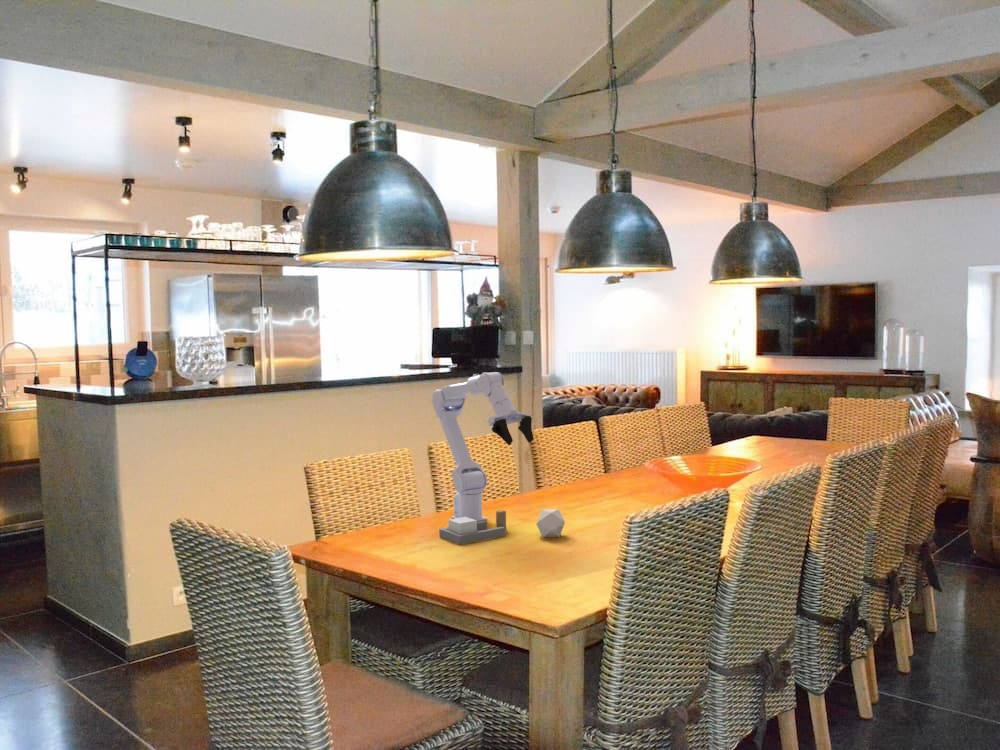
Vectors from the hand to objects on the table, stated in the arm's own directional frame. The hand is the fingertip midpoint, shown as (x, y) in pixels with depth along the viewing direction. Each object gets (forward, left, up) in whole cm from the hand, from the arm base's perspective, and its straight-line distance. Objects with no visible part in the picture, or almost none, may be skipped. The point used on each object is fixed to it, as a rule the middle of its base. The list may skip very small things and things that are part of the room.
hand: (521, 441), depth 256 cm
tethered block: (-9, -9, -28) cm, 31 cm away
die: (+5, +7, -29) cm, 30 cm away
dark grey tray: (-9, -11, -28) cm, 32 cm away
